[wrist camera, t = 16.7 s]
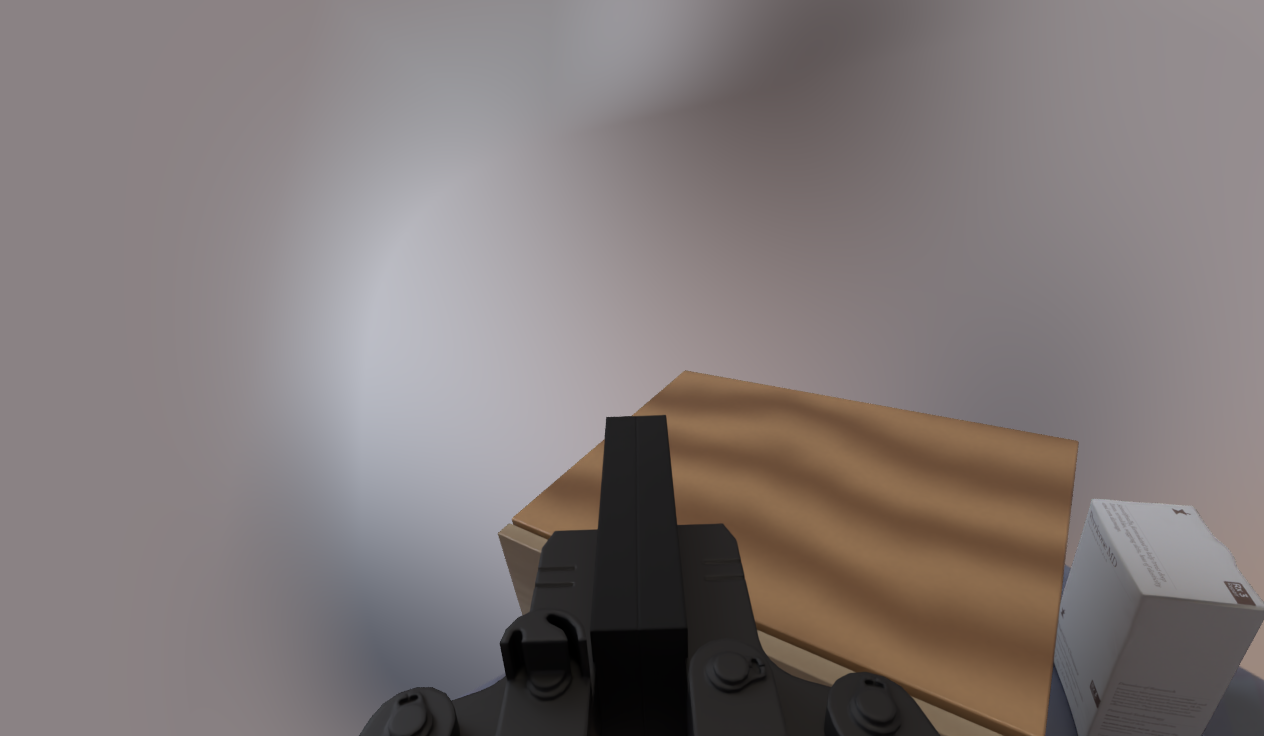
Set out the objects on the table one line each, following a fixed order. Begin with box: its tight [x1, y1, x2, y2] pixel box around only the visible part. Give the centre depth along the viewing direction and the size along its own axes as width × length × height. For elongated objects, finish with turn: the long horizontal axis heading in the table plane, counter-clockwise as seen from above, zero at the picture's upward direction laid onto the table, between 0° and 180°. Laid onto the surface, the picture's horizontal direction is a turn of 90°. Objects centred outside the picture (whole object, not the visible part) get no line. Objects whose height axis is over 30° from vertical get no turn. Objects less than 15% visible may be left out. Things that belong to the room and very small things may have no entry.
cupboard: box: [512, 371, 1079, 736], centre depth 37 cm, size 18×24×24 cm
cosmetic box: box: [1054, 499, 1264, 736], centre depth 39 cm, size 8×6×15 cm
